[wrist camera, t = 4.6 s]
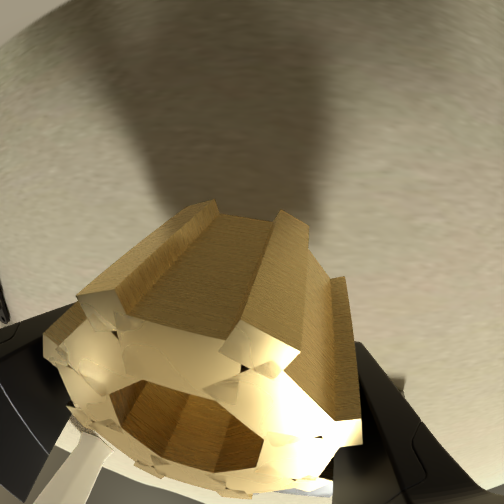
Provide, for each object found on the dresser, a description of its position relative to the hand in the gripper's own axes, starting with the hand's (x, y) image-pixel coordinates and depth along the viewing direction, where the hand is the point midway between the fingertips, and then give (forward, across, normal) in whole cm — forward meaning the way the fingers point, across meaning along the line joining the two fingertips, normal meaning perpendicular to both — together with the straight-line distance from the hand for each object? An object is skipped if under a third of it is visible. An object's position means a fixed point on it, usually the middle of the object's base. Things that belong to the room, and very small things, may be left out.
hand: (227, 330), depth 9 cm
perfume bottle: (+4, +14, +24) cm, 28 cm away
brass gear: (+1, 0, 0) cm, 1 cm away
